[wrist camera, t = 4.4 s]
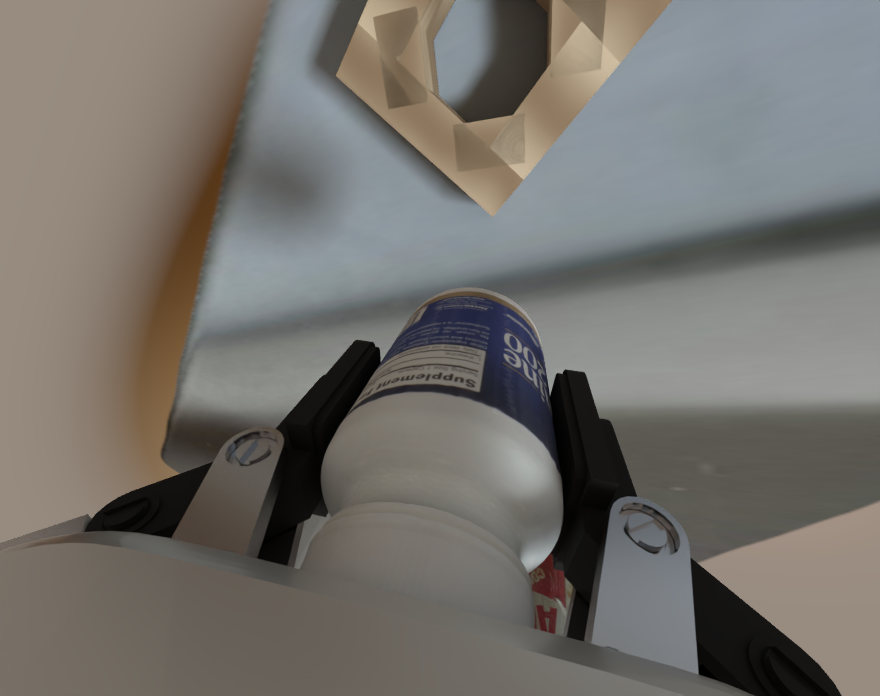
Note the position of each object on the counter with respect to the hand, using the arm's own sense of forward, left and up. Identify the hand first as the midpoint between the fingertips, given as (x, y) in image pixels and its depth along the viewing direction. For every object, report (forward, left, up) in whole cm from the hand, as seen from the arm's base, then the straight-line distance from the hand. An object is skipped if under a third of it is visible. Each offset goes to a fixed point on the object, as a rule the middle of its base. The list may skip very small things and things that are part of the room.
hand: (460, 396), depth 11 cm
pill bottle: (0, 0, -3) cm, 3 cm away
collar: (+8, +8, -18) cm, 21 cm away
